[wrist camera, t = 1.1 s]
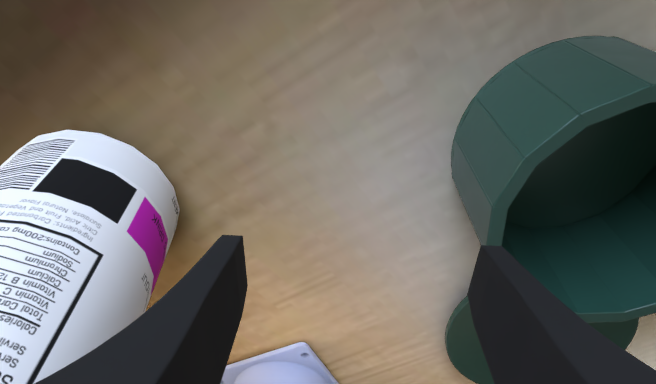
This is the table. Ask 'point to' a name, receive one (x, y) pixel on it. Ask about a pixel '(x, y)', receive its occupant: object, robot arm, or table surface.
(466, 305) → the pot lid
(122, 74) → the table surface
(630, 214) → the green pot
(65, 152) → the supplement can
